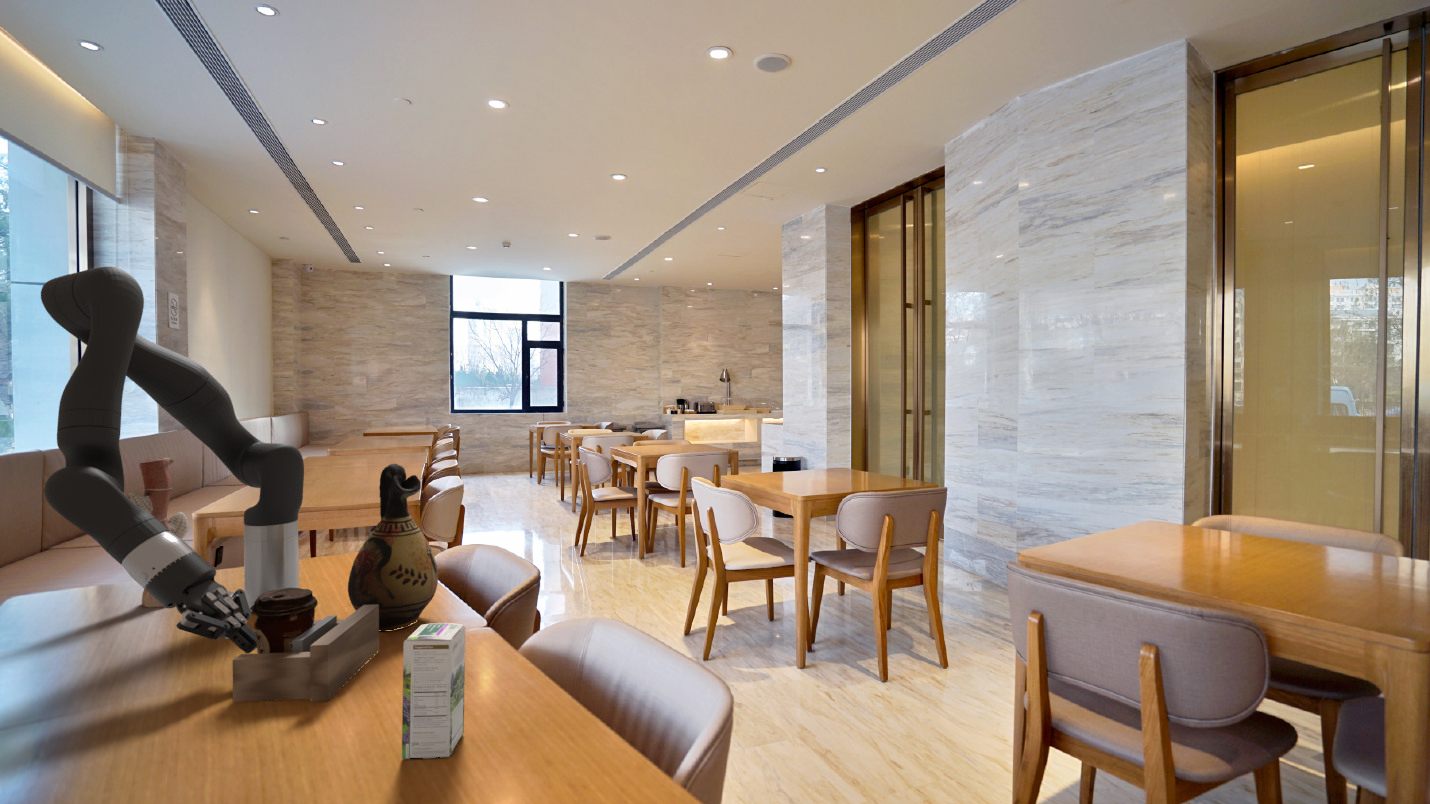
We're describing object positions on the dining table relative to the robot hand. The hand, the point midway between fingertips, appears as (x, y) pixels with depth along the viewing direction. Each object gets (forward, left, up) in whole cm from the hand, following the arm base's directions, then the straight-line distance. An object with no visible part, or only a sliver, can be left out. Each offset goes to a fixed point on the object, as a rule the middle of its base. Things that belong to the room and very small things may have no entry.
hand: (256, 647), depth 101 cm
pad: (0, +9, -4) cm, 10 cm away
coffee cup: (0, +4, -5) cm, 6 cm away
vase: (-40, -41, -5) cm, 57 cm away
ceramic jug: (-24, +11, -5) cm, 27 cm away
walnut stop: (0, +8, -5) cm, 9 cm away
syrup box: (+23, +33, -5) cm, 41 cm away
